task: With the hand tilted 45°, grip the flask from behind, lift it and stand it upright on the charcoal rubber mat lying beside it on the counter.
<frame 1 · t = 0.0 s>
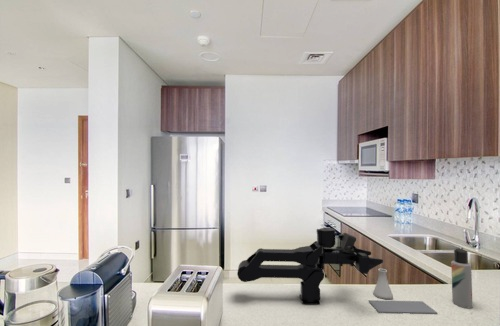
hand: (376, 256, 96), 17 cm above the worktop, tool horizontal, fingers open, 9 cm apart
flask: (383, 296, 100), on the worktop
lotion bottle: (462, 305, 93), on the worktop
charcoal mat: (401, 307, 91), on the worktop
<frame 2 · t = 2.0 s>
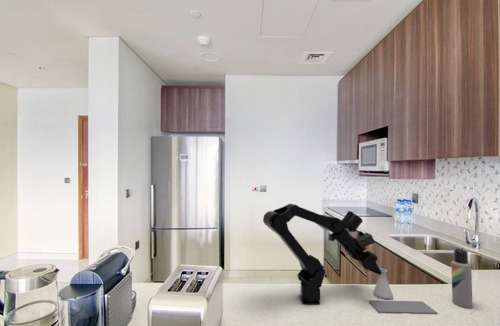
hand: (375, 269, 100), 10 cm above the worktop, tool tilted 45°, fingers open, 9 cm apart
nothing on the worktop moved.
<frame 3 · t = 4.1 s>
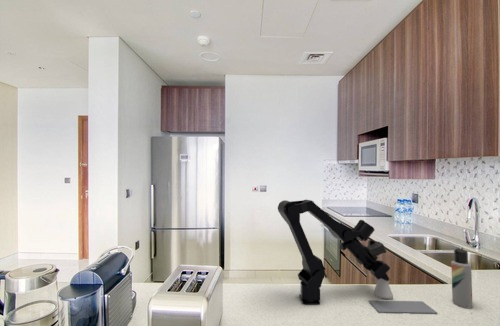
hand: (386, 278, 100), 7 cm above the worktop, tool tilted 45°, fingers closed on flask, 3 cm apart
flask: (383, 295, 100), on the worktop, touching gripper
everything else where it was.
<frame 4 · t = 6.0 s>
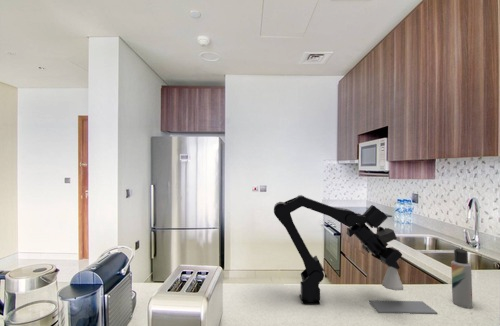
hand: (396, 266, 94), 13 cm above the worktop, tool tilted 45°, fingers closed on flask, 3 cm apart
flask: (392, 287, 94), point 6 cm above the worktop, touching gripper
everything else where it was.
when the fingers open (8 cm above the worktop, at t = 8.1 s): flask stays where it is, resting on charcoal mat.
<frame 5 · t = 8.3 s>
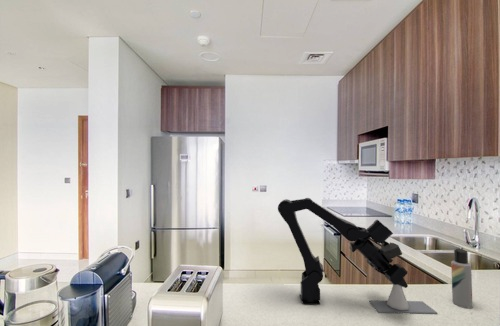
hand: (401, 283, 91), 9 cm above the worktop, tool tilted 45°, fingers open, 6 cm apart
flask: (397, 306, 91), resting on charcoal mat
everything else where it was.
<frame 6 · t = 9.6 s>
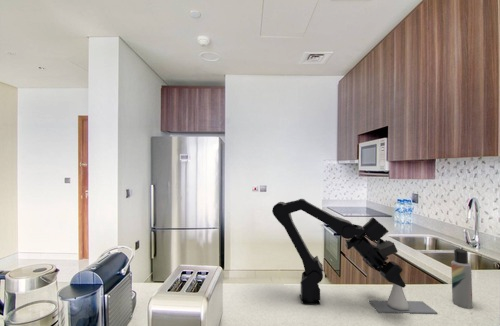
hand: (397, 280, 91), 9 cm above the worktop, tool tilted 45°, fingers open, 9 cm apart
nothing on the worktop moved.
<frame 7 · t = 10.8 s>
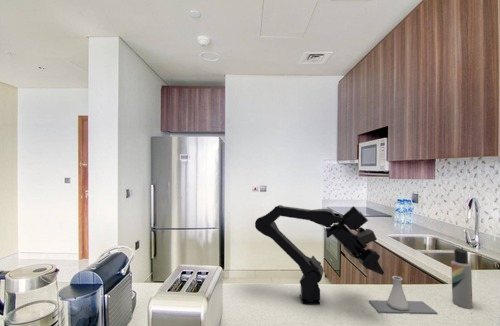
hand: (376, 268, 92), 14 cm above the worktop, tool tilted 45°, fingers open, 9 cm apart
nothing on the worktop moved.
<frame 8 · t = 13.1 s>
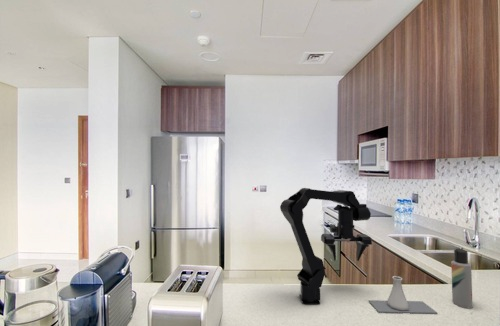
hand: (346, 260, 102), 13 cm above the worktop, tool pointing down, fingers open, 9 cm apart
nothing on the worktop moved.
at the end: flask inside the target area (1.7 cm from its centre), resting on charcoal mat; flask tilted 0°; flask touching charcoal mat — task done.
